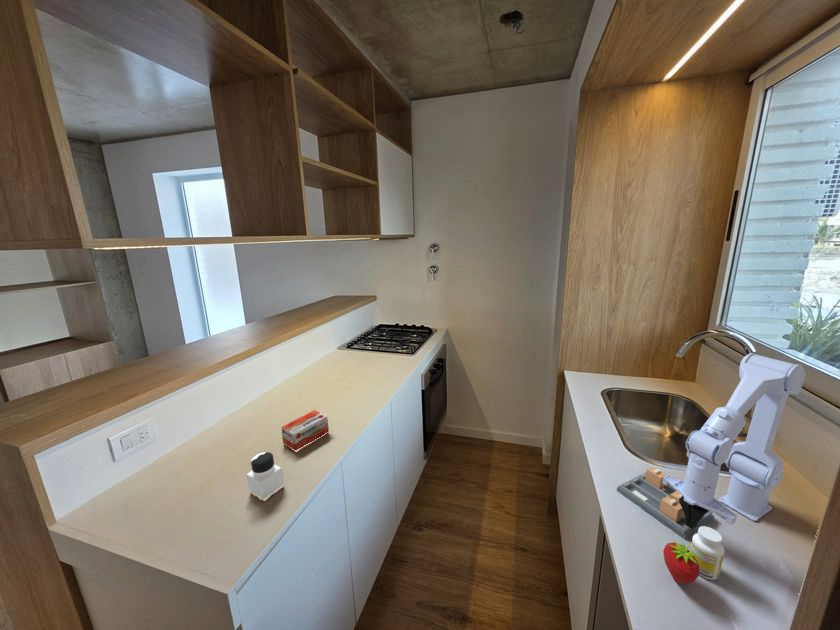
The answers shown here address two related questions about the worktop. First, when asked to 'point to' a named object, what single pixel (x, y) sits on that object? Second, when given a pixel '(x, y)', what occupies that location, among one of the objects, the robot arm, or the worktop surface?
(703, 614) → the worktop surface
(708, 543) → the supplement bottle
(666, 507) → the orange box
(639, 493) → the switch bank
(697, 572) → the strawberry
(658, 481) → the cardboard box
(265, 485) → the medicine bottle
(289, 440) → the medicine box
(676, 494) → the tan box with strip
